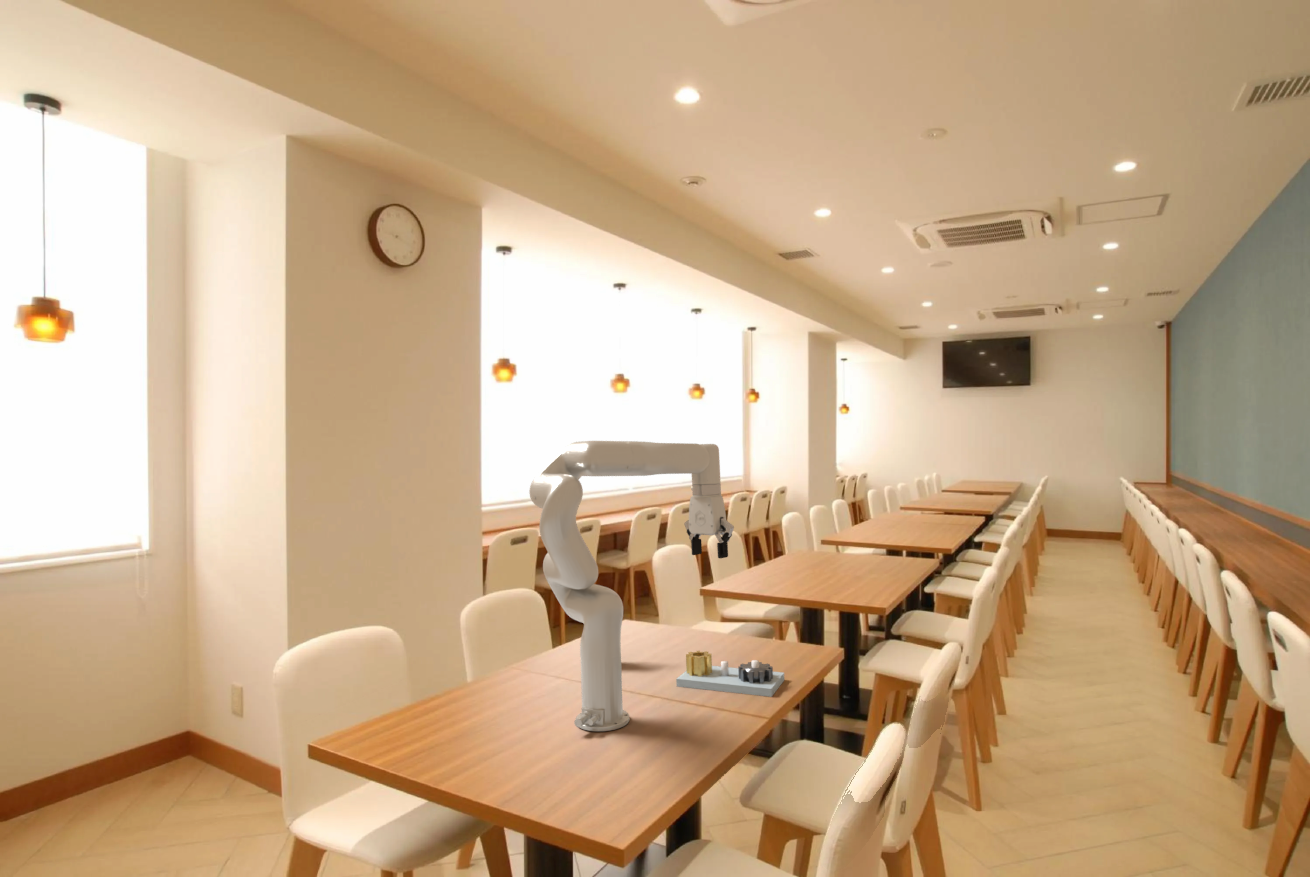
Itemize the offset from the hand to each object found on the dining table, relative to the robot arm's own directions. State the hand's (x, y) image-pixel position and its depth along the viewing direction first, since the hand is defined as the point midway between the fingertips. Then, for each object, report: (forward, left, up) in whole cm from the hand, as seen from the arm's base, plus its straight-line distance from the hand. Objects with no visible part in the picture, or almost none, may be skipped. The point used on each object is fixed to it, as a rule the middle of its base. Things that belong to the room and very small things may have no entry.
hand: (709, 556), depth 185 cm
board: (+8, -2, -35) cm, 36 cm away
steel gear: (+8, -9, -33) cm, 35 cm away
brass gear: (+8, +7, -33) cm, 35 cm away
